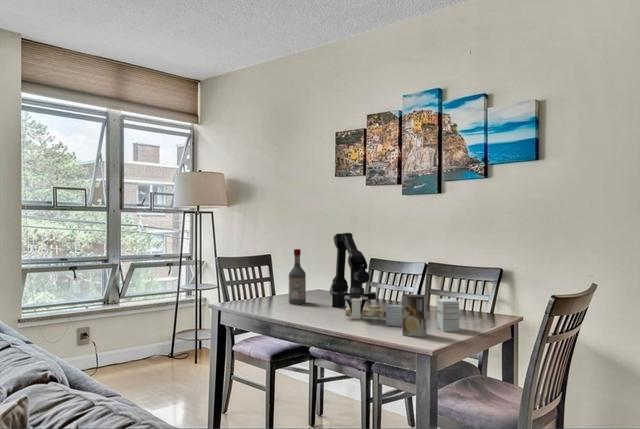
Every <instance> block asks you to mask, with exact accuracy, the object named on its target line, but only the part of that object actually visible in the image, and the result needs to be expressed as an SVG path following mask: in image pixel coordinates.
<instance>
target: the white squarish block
mask: <svg viewBox="0 0 640 429" xmlns="http://www.w3.org/2000/svg"><path fill="white" fill-rule="evenodd" d="M361 303H362V299H361V300H359V299H357V300H354V299H352V316H351V318H352V319H354V320H355V319H357V320H361V319H362V316H361Z"/></svg>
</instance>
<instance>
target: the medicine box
mask: <svg viewBox="0 0 640 429" xmlns="http://www.w3.org/2000/svg"><path fill="white" fill-rule="evenodd" d="M385 313H386V317H385V319H386V322H385V323H386V326H387V327H388V326H389V327H390V326H391V327H402V304H400V305H399V304H388V305H386V310H385Z"/></svg>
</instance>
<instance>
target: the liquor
mask: <svg viewBox="0 0 640 429" xmlns="http://www.w3.org/2000/svg"><path fill="white" fill-rule="evenodd" d="M293 255H294V264H293V267H292V268H291V270H290V272H289V274H288V304H289V303H290V304H289V305H292V304H302V305H305V304H306V300H307V299H306V298H307V297H306V296H307V295H306V294H307V293H306V292H307V289H306V288H307V287H306V286H307V285H306V284H307V283H306V282H307V281H306V277H307V273H306V271H305V270H304V269H303V268H302V266H301V255H302V254H301V249H300V248H297V249H296V248H294V249H293Z"/></svg>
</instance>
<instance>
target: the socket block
mask: <svg viewBox="0 0 640 429" xmlns="http://www.w3.org/2000/svg"><path fill="white" fill-rule="evenodd" d="M344 314H345V315H344V316H346V317H347V316H348V317H352V313H351V310H350V307H349V305H347V307H346V308H345V312H344ZM384 314H385V305H372V304H371V305H368V304H366V305H364V308H363V311H362V314H361V317H370V318H371V317H372V318H374V317H376V318H383V317H384Z"/></svg>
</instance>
